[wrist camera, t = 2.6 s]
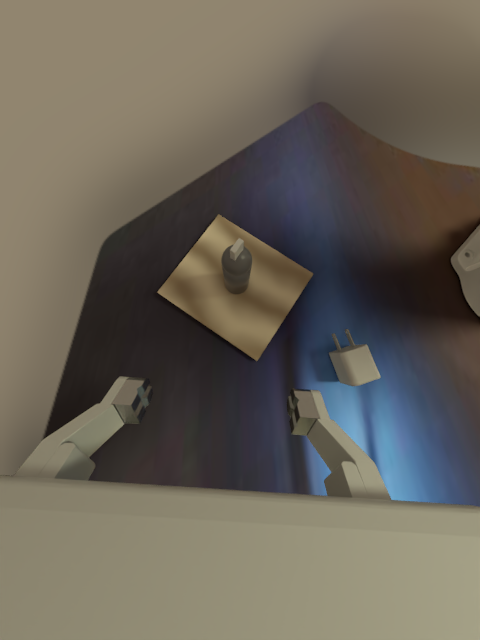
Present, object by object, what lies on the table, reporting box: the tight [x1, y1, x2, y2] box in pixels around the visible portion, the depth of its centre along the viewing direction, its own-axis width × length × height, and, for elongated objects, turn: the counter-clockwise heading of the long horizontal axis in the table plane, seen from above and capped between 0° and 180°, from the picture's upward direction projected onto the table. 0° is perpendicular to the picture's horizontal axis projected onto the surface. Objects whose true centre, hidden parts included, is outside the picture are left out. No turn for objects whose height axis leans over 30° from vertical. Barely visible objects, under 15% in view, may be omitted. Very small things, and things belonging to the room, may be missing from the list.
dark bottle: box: [221, 238, 252, 294], centre depth 23 cm, size 4×4×10 cm
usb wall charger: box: [329, 329, 380, 386], centre depth 26 cm, size 4×7×4 cm, turn 17°
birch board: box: [157, 215, 313, 361], centre depth 29 cm, size 16×18×1 cm
